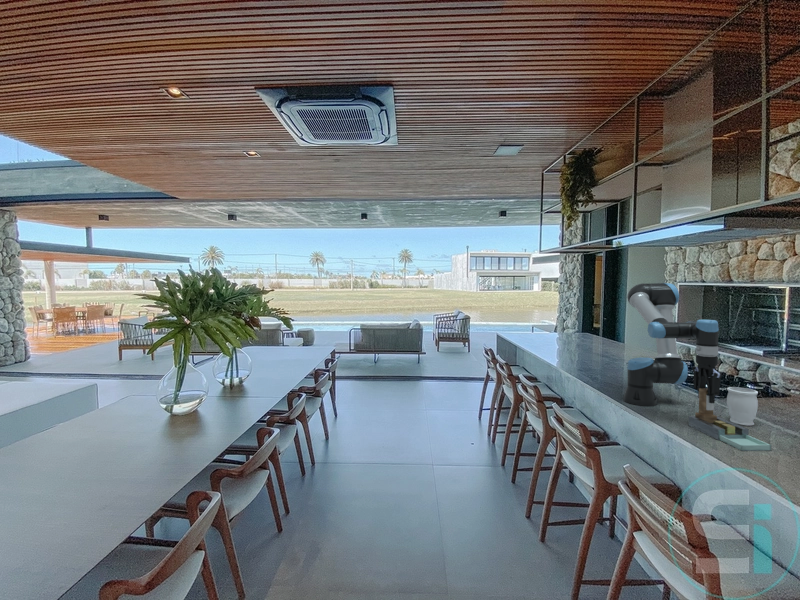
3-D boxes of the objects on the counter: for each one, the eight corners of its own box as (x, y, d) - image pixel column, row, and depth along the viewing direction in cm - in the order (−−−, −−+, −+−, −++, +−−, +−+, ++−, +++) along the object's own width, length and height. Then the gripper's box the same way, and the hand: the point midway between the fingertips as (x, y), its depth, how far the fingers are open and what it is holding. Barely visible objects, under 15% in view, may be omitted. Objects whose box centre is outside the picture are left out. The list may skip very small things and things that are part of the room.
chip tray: (719, 440, 154) (719, 435, 154) (747, 439, 154) (747, 434, 154) (741, 450, 144) (741, 445, 144) (771, 450, 144) (771, 445, 144)
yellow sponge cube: (721, 431, 158) (721, 424, 158) (728, 431, 158) (728, 424, 158) (727, 434, 155) (727, 426, 155) (735, 434, 155) (735, 426, 155)
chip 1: (713, 427, 162) (713, 420, 162) (720, 427, 162) (720, 420, 162) (719, 430, 159) (719, 423, 159) (726, 430, 159) (726, 423, 159)
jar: (763, 427, 166) (764, 393, 166) (736, 426, 169) (736, 392, 168) (746, 419, 177) (747, 387, 176) (721, 418, 179) (721, 386, 178)
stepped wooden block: (695, 419, 170) (695, 387, 170) (707, 419, 170) (708, 387, 170) (704, 423, 165) (704, 391, 165) (716, 423, 165) (717, 390, 165)
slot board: (688, 425, 170) (688, 416, 170) (715, 425, 170) (716, 415, 170) (718, 440, 154) (718, 429, 154) (748, 439, 154) (748, 429, 154)
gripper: (684, 352, 175) (683, 402, 176) (713, 358, 159) (712, 414, 159) (700, 351, 175) (700, 402, 176) (731, 358, 158) (730, 414, 159)
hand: (706, 408), depth 168 cm, fingers closed on stepped wooden block, 3 cm apart
